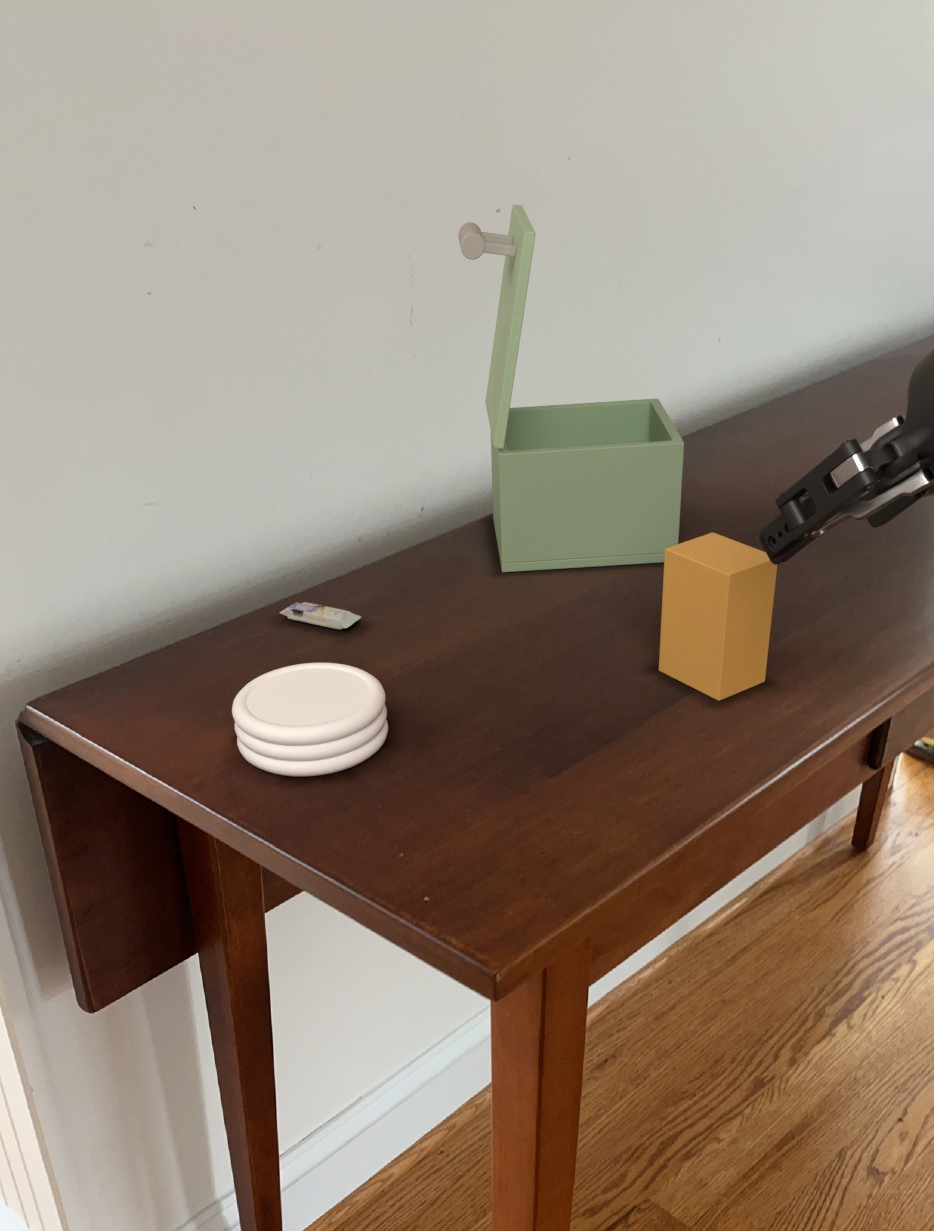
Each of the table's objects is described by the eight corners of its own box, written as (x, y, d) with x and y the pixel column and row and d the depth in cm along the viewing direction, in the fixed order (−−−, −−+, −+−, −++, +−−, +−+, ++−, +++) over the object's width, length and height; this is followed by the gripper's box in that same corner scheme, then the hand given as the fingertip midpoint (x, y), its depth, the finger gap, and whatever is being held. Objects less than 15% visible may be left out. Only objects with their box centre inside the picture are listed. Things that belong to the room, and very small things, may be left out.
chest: (653, 509, 115) (658, 398, 109) (677, 561, 105) (684, 442, 99) (493, 519, 115) (489, 409, 110) (502, 572, 105) (498, 454, 99)
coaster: (313, 797, 78) (306, 748, 76) (207, 750, 84) (198, 703, 82) (419, 731, 84) (416, 684, 82) (314, 691, 90) (308, 646, 88)
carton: (703, 652, 91) (712, 531, 86) (765, 681, 87) (778, 556, 82) (658, 670, 89) (664, 548, 84) (718, 701, 85) (729, 574, 80)
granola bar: (365, 612, 98) (339, 624, 96) (366, 627, 98) (340, 639, 96) (301, 591, 101) (274, 603, 99) (302, 605, 102) (276, 617, 100)
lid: (522, 205, 100) (459, 197, 100) (535, 232, 90) (466, 223, 90) (494, 404, 109) (436, 397, 109) (503, 449, 99) (440, 442, 99)
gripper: (1084, 273, 64) (870, 450, 79) (898, 324, 58) (704, 505, 73) (1154, 401, 64) (926, 555, 78) (974, 466, 58) (763, 620, 72)
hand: (819, 531), depth 76 cm, fingers open, 8 cm apart
